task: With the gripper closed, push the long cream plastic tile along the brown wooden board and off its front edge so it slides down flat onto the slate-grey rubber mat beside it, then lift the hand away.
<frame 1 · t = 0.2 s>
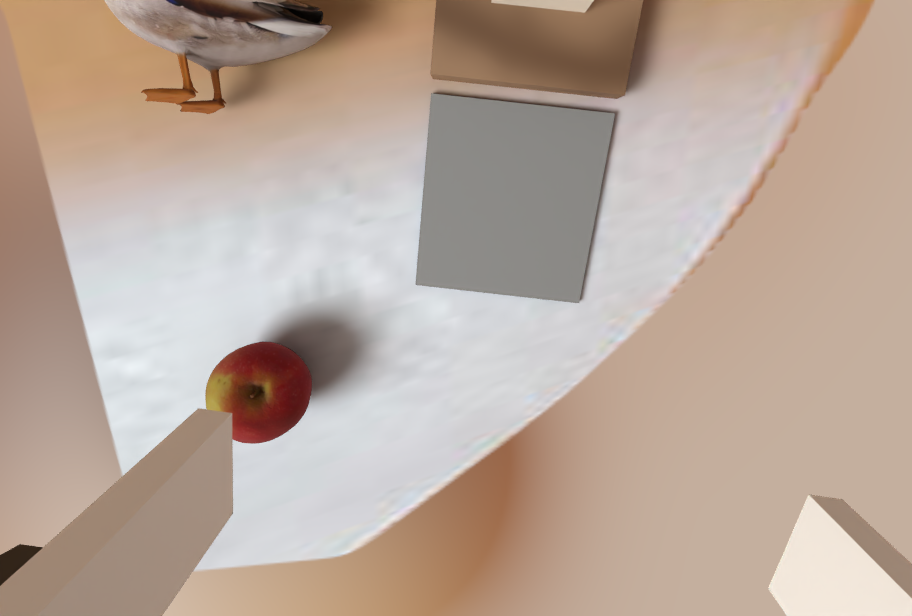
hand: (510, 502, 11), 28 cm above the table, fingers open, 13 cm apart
apple: (281, 369, 41), on the table
mat: (509, 203, 36), on the table
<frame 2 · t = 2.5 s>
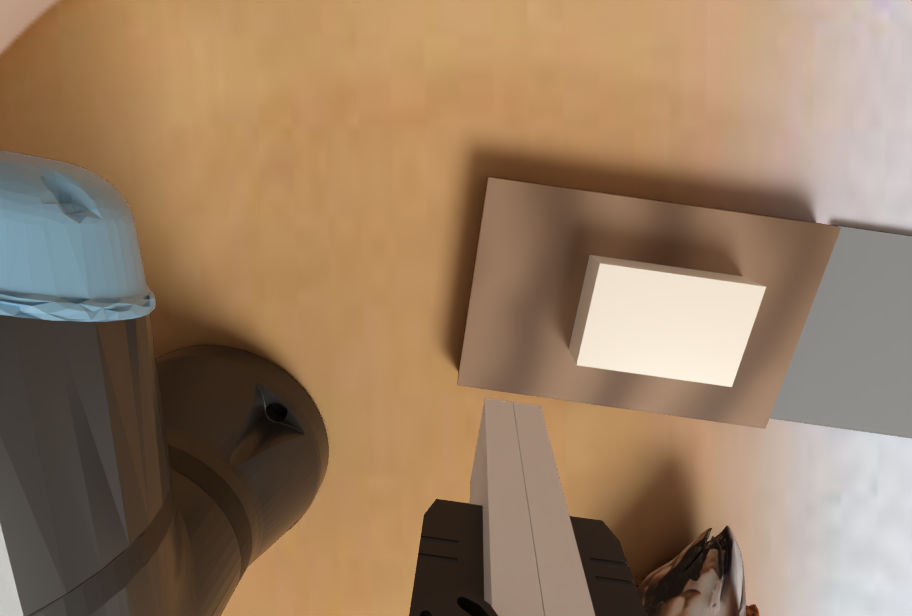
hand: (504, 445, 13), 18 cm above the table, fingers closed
tile: (652, 313, 29), point 2 cm above the table, touching brown wooden board
decorative duck model: (640, 563, 37), on the table
brown wooden board: (626, 302, 31), on the table
mat: (903, 341, 31), on the table
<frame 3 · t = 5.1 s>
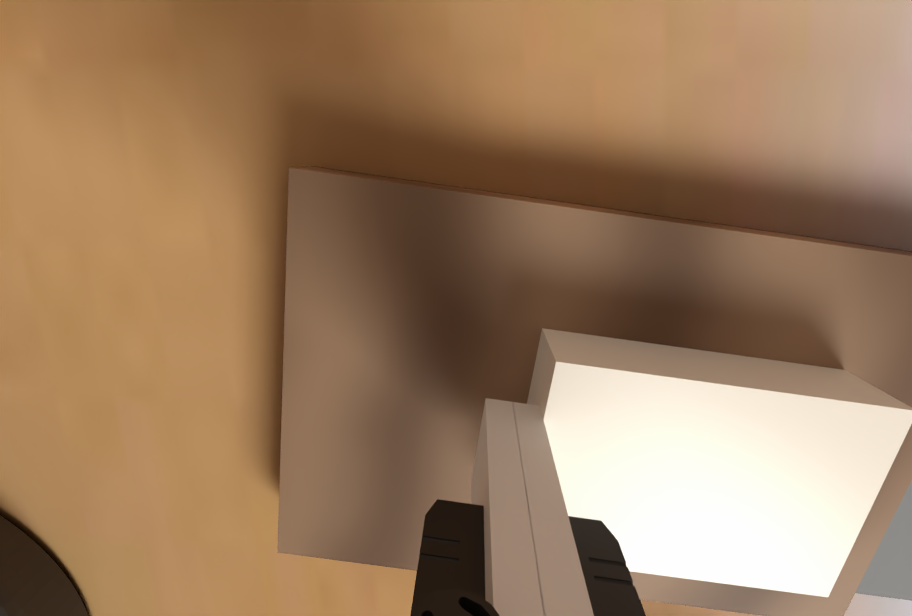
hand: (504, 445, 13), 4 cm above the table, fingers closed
tile: (666, 437, 15), point 2 cm above the table
brown wooden board: (587, 398, 17), on the table
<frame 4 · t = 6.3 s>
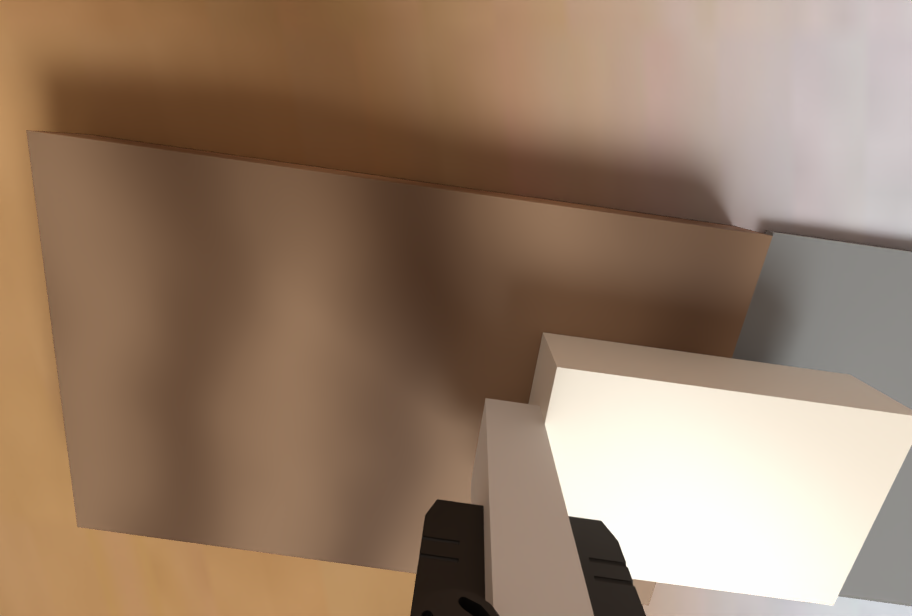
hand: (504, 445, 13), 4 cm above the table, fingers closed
tile: (669, 442, 15), point 2 cm above the table, touching gripper
brown wooden board: (390, 372, 17), on the table
mat: (903, 444, 17), on the table
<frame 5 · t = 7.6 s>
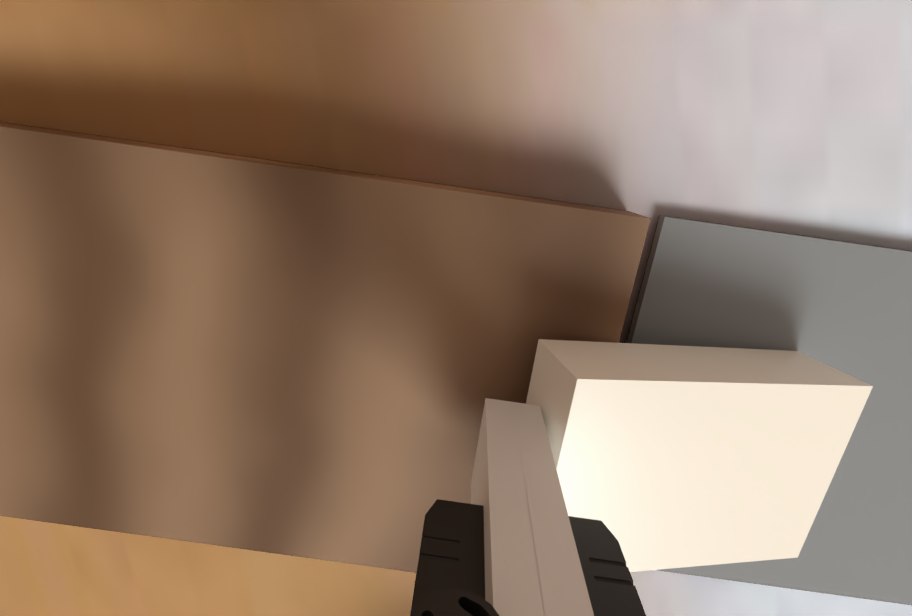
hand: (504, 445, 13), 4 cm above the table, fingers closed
tile: (652, 432, 15), point 2 cm above the table, tilted 14°, touching gripper, mat
brown wooden board: (297, 359, 17), on the table
mat: (809, 430, 17), on the table
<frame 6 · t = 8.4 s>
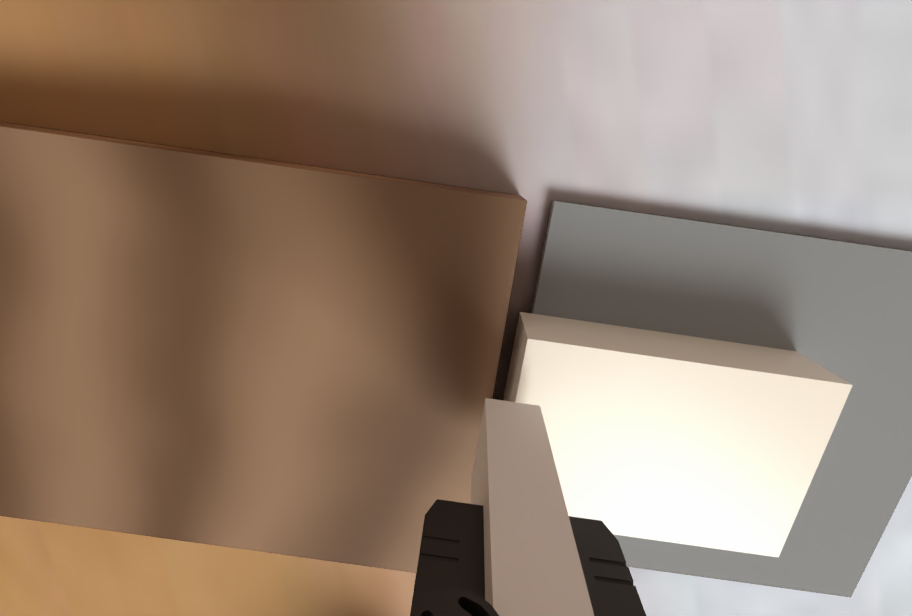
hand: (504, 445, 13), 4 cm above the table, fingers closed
tile: (635, 413, 16), resting on mat
brown wooden board: (201, 345, 17), on the table
mat: (715, 417, 17), on the table
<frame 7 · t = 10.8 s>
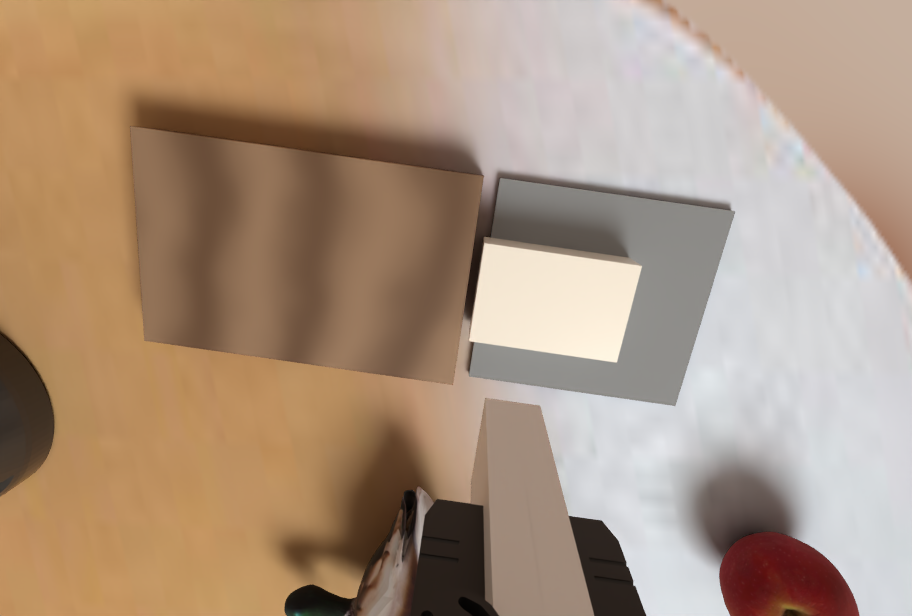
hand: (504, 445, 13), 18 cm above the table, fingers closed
tile: (547, 293, 30), resting on mat
decorative duck model: (387, 532, 37), on the table
brown wooden board: (313, 257, 31), on the table
apple: (750, 547, 36), on the table
mat: (591, 297, 30), on the table
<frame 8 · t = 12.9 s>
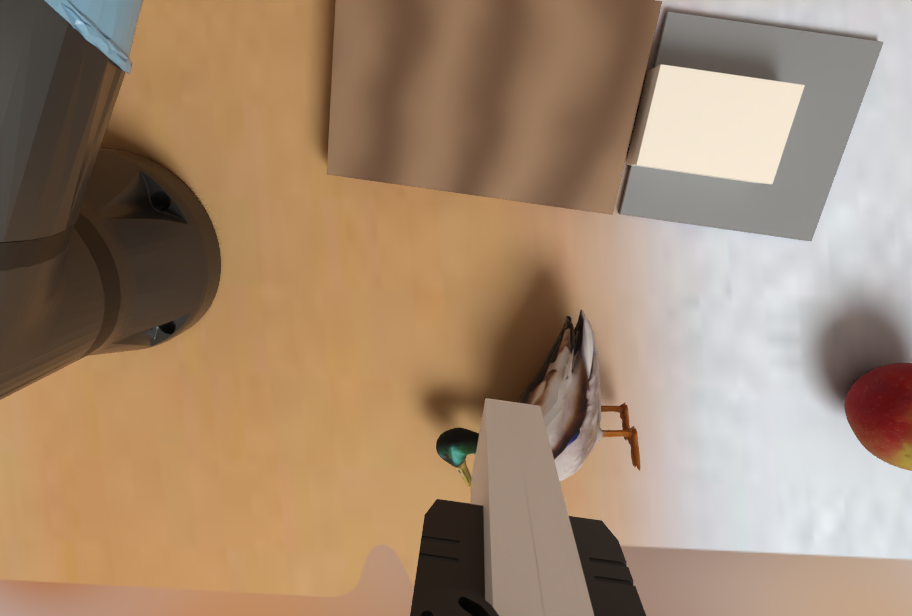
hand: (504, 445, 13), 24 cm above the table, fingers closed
tile: (701, 128, 33), resting on mat
decorative duck model: (526, 381, 40), on the table
brown wooden board: (483, 97, 33), on the table
apple: (867, 390, 39), on the table
mat: (740, 133, 33), on the table
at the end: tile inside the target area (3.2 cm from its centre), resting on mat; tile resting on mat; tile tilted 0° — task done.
